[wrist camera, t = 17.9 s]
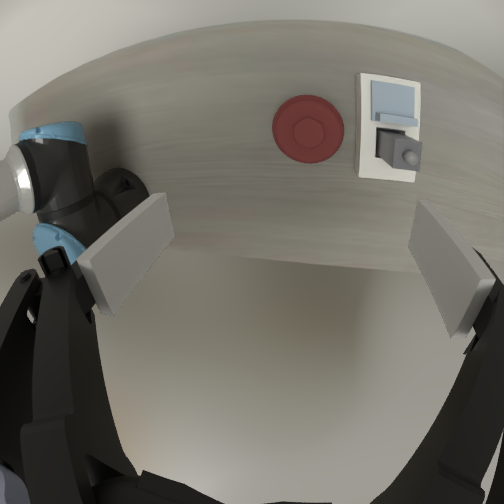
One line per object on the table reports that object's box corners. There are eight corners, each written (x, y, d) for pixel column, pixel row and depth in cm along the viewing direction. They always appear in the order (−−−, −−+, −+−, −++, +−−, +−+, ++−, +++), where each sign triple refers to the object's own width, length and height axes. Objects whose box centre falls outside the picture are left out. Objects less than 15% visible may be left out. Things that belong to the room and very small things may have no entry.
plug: (372, 150, 41) (397, 172, 29) (373, 127, 39) (399, 141, 27) (393, 152, 40) (424, 175, 29) (395, 130, 38) (427, 145, 27)
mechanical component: (272, 99, 40) (332, 93, 38) (282, 155, 45) (340, 150, 43) (261, 100, 30) (343, 91, 27) (275, 174, 35) (352, 168, 32)
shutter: (370, 120, 35) (376, 122, 32) (370, 80, 32) (376, 79, 29) (412, 125, 34) (420, 128, 31) (412, 87, 30) (421, 87, 27)
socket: (354, 170, 44) (358, 177, 41) (355, 74, 35) (360, 72, 32) (406, 175, 42) (414, 182, 39) (411, 83, 33) (420, 82, 30)
